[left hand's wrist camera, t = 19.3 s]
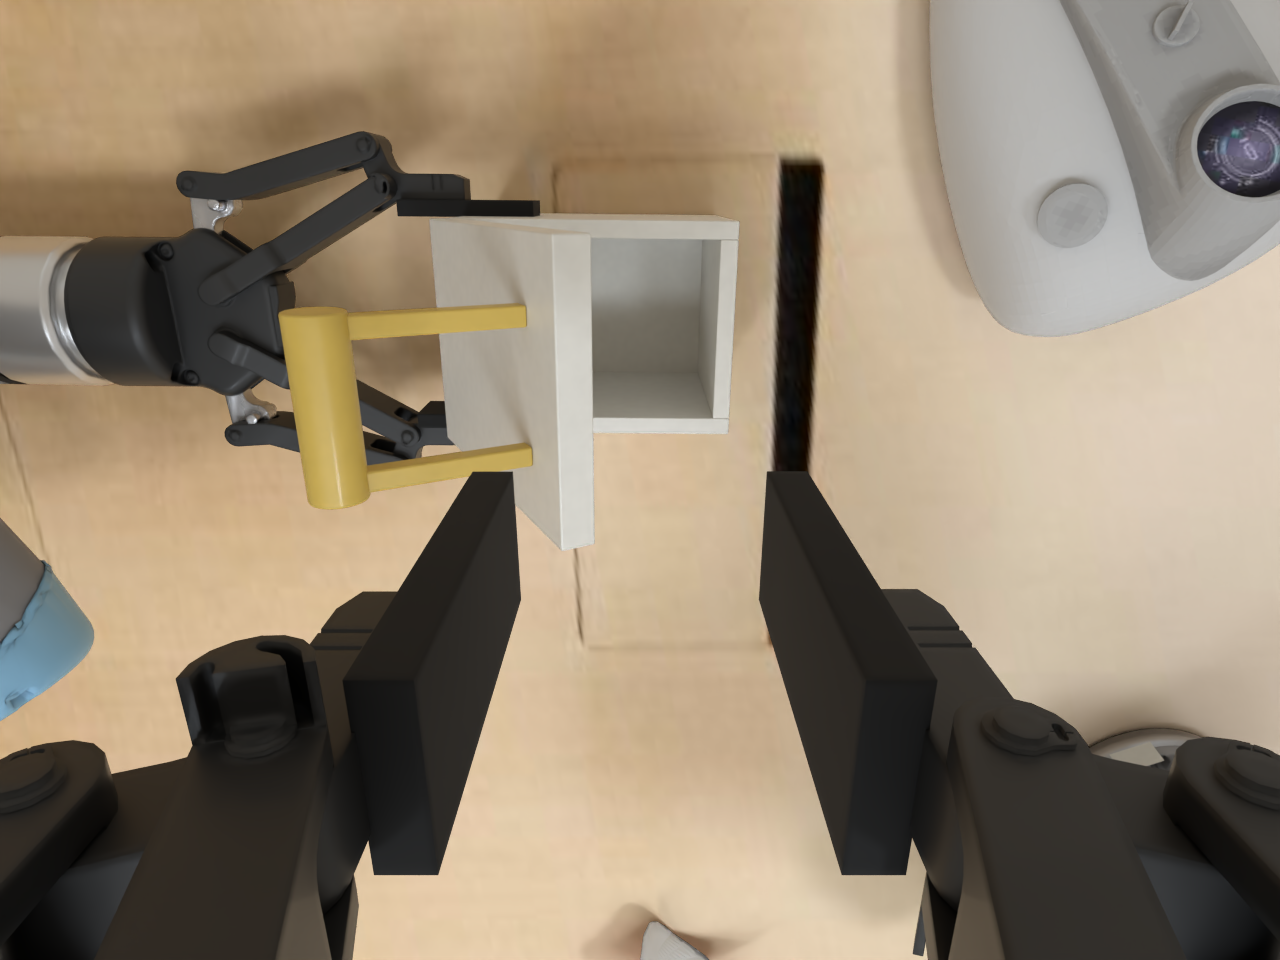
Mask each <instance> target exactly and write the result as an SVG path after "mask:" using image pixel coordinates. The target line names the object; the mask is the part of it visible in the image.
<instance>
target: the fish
mask: <svg viewBox="0 0 1280 960" xmlns="http://www.w3.org/2000/svg"><path fill="white" fill-rule="evenodd" d="M640 960H709V959H708V958H707V957H706V956H705V955H704V954H702V953H701V952H700V951H698V950H697V949H695V948H694V947H693V946H691V945H690V944H689V943H687V942H686V941H684V940H683V939H681V938H680V937H678V936H677V935H675V934H674V933H672V932H671V931H670V930H669V929H668V928H667V927H665V926H664V925H662V924H661V923H659V922H655V921H653V922H650V923H649V924H648V927H647V929H646V931H645V933H644V936H643V942H642V949H641V958H640Z"/></svg>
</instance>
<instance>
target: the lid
mask: <svg viewBox="0 0 1280 960" xmlns="http://www.w3.org/2000/svg"><path fill="white" fill-rule="evenodd" d="M429 223H430V235H431V246H432V258H433V270H434V282H435V293H436V305H437V308H422V309H405V310H388V311H370V312H353V313H348V312H347V310H346V309H343V308H338V307H303V308H294V309H288V310H284V311H281V312H279V315H278V317H279V323H280V329H281V335H282V342H283V348H284V354H285V360H286V367H287V373H288V379H289V386H290V392H291V398H292V404H293V411H294V417H295V423H296V429H297V436H298V442H299V448H300V454H301V461H302V467H303V473H304V480H305V486H306V492H307V498H308V502H309V504H310V505H311V506H313V507H315V508H319V509H342V508H348V507H352V506H355V505H358V504H361V503H363V502H365V501H366V500H367V499H368V498H369V497H370V494H371V492H376V491H382V490H388V489H394V488H401V487H407V486H413V485H419V484H425V483H431V482H437V481H443V480H450V479H456V478H462V477H468V476H470V475H471V473H472V472H513V480H514V496H515V505H516V506H517V507H518V508H519V509H520V510H521V511H522V512H523V513H524V514H525V515H526V516H527V517H528V518H529V519H530V520H531V521H532V522H533V523H534V524H535V525H536V526H537V527H538V528H539V529H540V530H541V531H542V532H543V533H544V534H545V535H546V536H547V537H548V538H549V539H550V540H551V541H552V542H553V543H554V544H555V545H556V546H557V547H558V548H559V549H560V550H561V551H565V550H569V549H574V548H578V547H583V546H587V545H592V544H594V543H595V532H594V452H593V371H592V291H591V234H590V233H586V232H577V231H568V230H559V229H550V228H540V227H531V226H522V225H513V224H504V223H494V222H485V221H476V220H467V219H457V218H431V219H430V220H429ZM429 334H439V340H440V352H441V364H442V376H443V388H444V399H445V411H446V423H447V435H448V438H449V439H450V440H451V441H452V442H453V443H454V444H455V445H456V446H457V447H458V448H459V449H460V450H461V451H462V452H456V453H449V454H443V455H436V456H429V457H422V458H415V459H409V460H402V461H395V462H388V463H382V464H375V465H368V466H367V461H366V453H365V445H364V437H363V429H362V421H361V414H360V406H359V398H358V390H357V382H356V374H355V366H354V358H353V351H352V343H351V340H362V339H375V338H389V337H402V336H416V335H429Z"/></svg>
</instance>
